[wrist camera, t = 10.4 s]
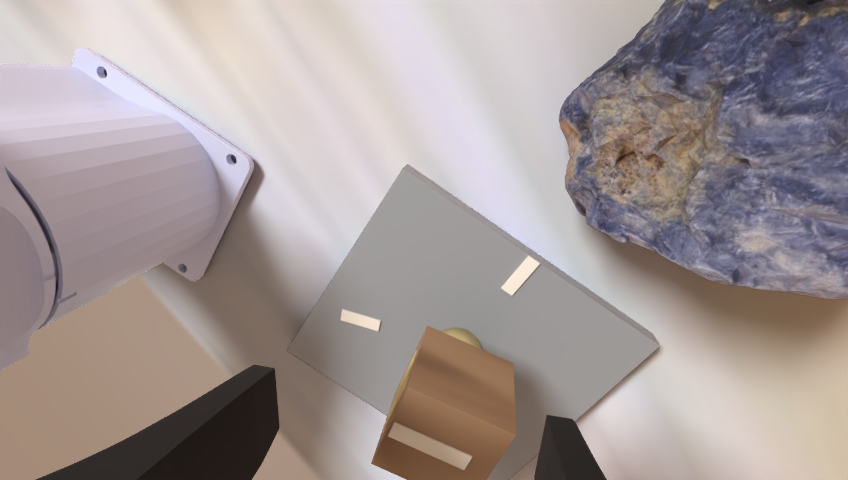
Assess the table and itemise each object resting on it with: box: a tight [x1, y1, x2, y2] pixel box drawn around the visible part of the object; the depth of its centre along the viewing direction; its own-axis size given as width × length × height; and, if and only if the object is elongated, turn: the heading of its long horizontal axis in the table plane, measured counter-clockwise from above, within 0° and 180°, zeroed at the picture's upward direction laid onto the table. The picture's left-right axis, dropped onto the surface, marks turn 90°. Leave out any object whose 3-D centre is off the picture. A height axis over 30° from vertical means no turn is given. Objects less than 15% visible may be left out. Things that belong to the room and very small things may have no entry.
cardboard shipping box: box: [371, 326, 516, 480], centre depth 17 cm, size 4×4×4 cm
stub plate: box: [287, 164, 660, 480], centre depth 21 cm, size 14×12×3 cm
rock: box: [559, 0, 848, 300], centre depth 14 cm, size 11×10×10 cm
